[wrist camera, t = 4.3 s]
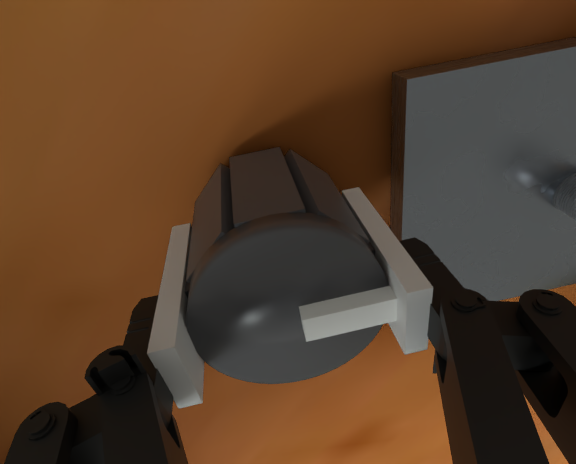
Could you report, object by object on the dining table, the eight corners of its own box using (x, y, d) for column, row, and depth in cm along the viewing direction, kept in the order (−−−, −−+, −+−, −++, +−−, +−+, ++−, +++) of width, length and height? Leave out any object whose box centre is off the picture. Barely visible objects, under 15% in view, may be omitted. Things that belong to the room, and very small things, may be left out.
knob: (217, 282, 19) (217, 416, 13) (177, 166, 15) (150, 277, 9) (340, 255, 19) (395, 372, 13) (329, 135, 16) (399, 222, 10)
